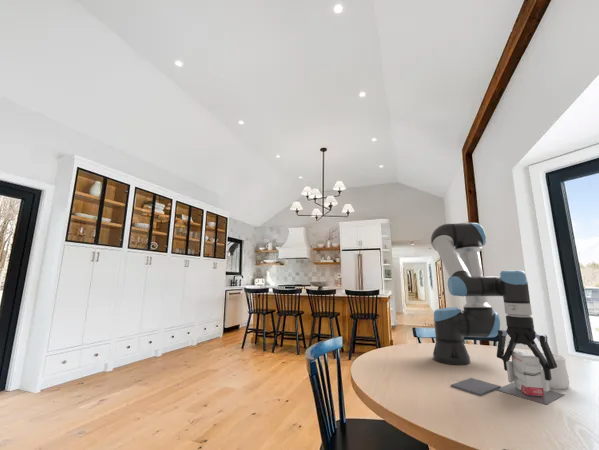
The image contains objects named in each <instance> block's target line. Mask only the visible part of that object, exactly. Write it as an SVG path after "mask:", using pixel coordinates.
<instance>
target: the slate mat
mask: <svg viewBox="0 0 599 450" xmlns="http://www.w3.org/2000/svg"><path fill="white" fill-rule="evenodd" d="M495 391H498V392H502V393H505V394H507V395H508V394H509V395H512V396H516V397H519V398H521V399H525V400H529V401H533V402H535V403H539V404H543V405H549V404H551V403H553V402H554V401H556V400H558V399H560V398H562V397H564V396H565V394H564V393H561V392H558V391H554V390H551V389H550V390H549V391H547V392H545V391H543V392H544V396H531V395H527V394H525V393H524V392H522V391H521V390H519V389H518V388H516V387H515V383H514V382H509V383H508V384H506V385H503V386H501V387H500V388H498V389H496V390H495Z"/></svg>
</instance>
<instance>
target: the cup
mask: <svg viewBox="0 0 599 450" xmlns="http://www.w3.org/2000/svg"><path fill="white" fill-rule="evenodd" d="M541 353H542V355H543V356H544V358H545V359H546V357H545V355H544V352H541ZM530 354H532V355H534V354H533V352H531V353H530ZM552 355H553V357H554V359H555V362H556V364H557V368H554V369H551V370H550V371H551V378H552V379H551V380H550V381H549V387H550V389H556V390H566V389H568V388H569V387H570V380H569V377H570V376H569V374H568V369H567V363H566V362H567V361H566V357H565V356H563V355H561V354H557V353H552ZM534 356H535V355H534ZM546 361H547V359H546ZM540 367H541V369H542V368H543V367H542V366H541V364H540Z"/></svg>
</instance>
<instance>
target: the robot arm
mask: <svg viewBox="0 0 599 450" xmlns="http://www.w3.org/2000/svg"><path fill="white" fill-rule="evenodd" d="M430 243H431V246H432V248H433V249H434V250H435V251H436V252H437V253H438V255H439V258H440V259H441V262H442V264H443V266H444V268H445V270H446V272H447V274H448V276H449V278H448V279H447V287H448V288H447V289H448V292H449V294H450V295H451V296H454V297H455V296H456V297H465V301H466V302H465V304H464V305H463V310H461V308H460V307H458V306H457V307H451V306H449V307H443V308H437V309H435V310H434V311H433V321H434V322H433V324H434V334H435V345H434V349H433V353H432V355H433V356H432V357H433V360H434V361H436V362H439V363H442V364H448V365H457V366H458V365H459V366H460V365H469V364H470V363H471V358H470V355H469V352H468V350H467V348H466V345H465V343H464V342H465V341H464V339H465V338H484V339H486V338H495V337H497V336H498V342H497V350H496V357H497V358H498V359H501V360H502V361H503V368H504V369H503V370H504V371H506V372H507V373H506V374H507V380H508V383H513V382H514V374H513V365H512V360H511V358H512V356H511V354H512V351H515V348H516V346H517V344H518V345H519V344H521V345H524V346H527V347H528V349H530V350H531V353H533V354H534V355H535V357H538V358H539V363H540V364H541V366H542V367H543V368H542V369H540V371H541V378H542V384H543V391H545V392H547V391H549V390H550V391H551V388H550V387H549V381H550V380H551V379H552V378H551V371H550V370H551V369H554V368H557V364H556V362H555V359H554V357H553V355H552V354H553V352H552V350H551V347H550V345H549V342H548V336H547V334H539V333H537V332H536V331H535V323H534V318H533V317H532V315H533V311H532V306H531V305H532V304H531V299H530V291H529V281H528V278H527V273H526V272H525V271H524V270H501V271H500V273H499V275H497V276H496V275H494V276H492V275H491V276H484V273H483V271H484V270H483V265H482V260H481V253H480V252H481V251H482V250H483V246H485V245H486V243H487V235H486V232H485V229H484V227H483V226H482V225H481V224H480V223H479V222H459V223H444V224H441V225H439V226H438V227H436V229H434V231H433V232H432V234H431V237H430ZM488 297H502V298H503V305H504V313H505V314H506V315H505V321H506V327H507V328H506V329H501V319H500V316H499V313H498V312H497V311H495V310H493V306H492V305H490V304H489V303H488V299H487V298H488ZM507 336H509V337H510V340H509V342H508V345H507V347H506V339H507ZM535 339H537V341H538V342H539V344H540V347H541V348H542V349H541V350H542V352H541V350H540V348H538V345H537V343H536V341H535ZM505 348H506V349H505ZM542 353H544V355H545V357H546V359H547V361H546V359H545V358H544V356H543V355H542Z"/></svg>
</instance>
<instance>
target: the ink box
mask: <svg viewBox="0 0 599 450" xmlns="http://www.w3.org/2000/svg"><path fill="white" fill-rule="evenodd" d="M511 361H512V365H513V374H514V383H515V387H516V388H518V389H519V390H521V391H522V392H524V393H525V394H527V395H531V396H544V392H543V384H542V378H541V371H540V369H541V367H540V363H539V358H538V357H535V356H534V355H532V354H531V353H529V352H528V351H522V350H513V351H512V354H511Z"/></svg>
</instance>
